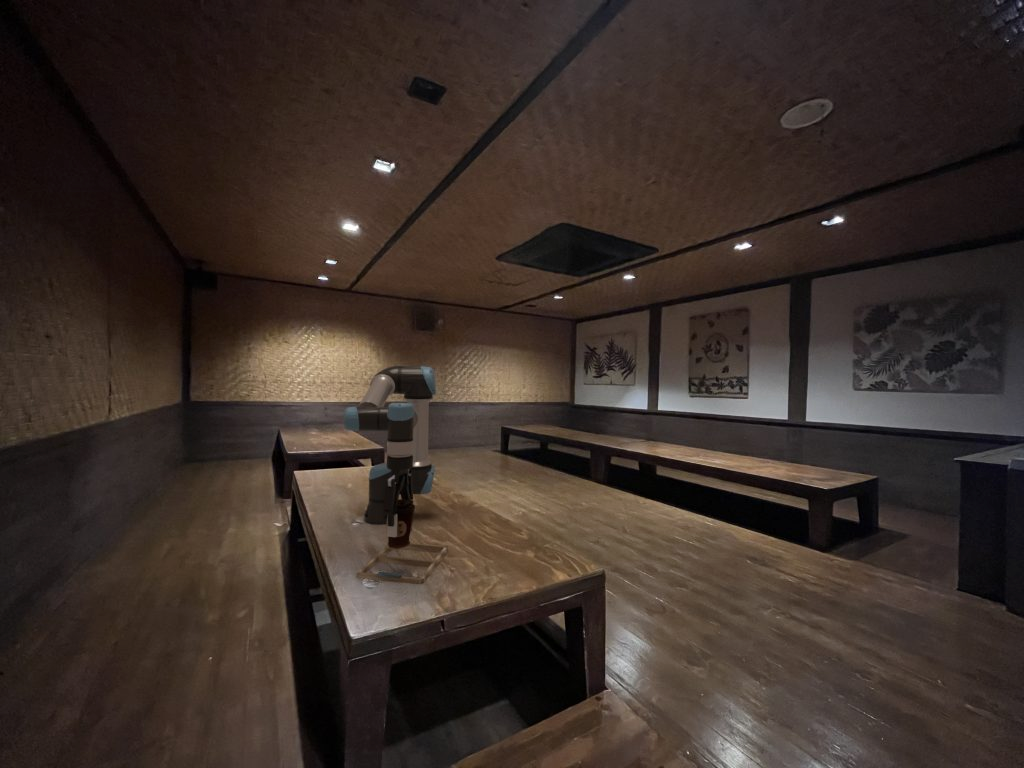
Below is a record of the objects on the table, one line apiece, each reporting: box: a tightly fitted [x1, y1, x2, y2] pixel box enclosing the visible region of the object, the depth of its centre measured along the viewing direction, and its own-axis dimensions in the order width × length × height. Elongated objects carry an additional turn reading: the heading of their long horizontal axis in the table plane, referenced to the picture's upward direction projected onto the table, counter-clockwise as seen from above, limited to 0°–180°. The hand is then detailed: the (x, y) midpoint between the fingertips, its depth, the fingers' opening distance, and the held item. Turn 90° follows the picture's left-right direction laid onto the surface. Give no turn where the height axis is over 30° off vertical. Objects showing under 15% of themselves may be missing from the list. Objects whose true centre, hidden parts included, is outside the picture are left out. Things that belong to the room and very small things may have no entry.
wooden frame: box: [355, 542, 449, 585], centre depth 123 cm, size 23×20×3 cm
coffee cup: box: [386, 498, 416, 550], centre depth 117 cm, size 9×8×13 cm
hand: (398, 530), depth 118 cm, fingers closed on coffee cup, 8 cm apart
